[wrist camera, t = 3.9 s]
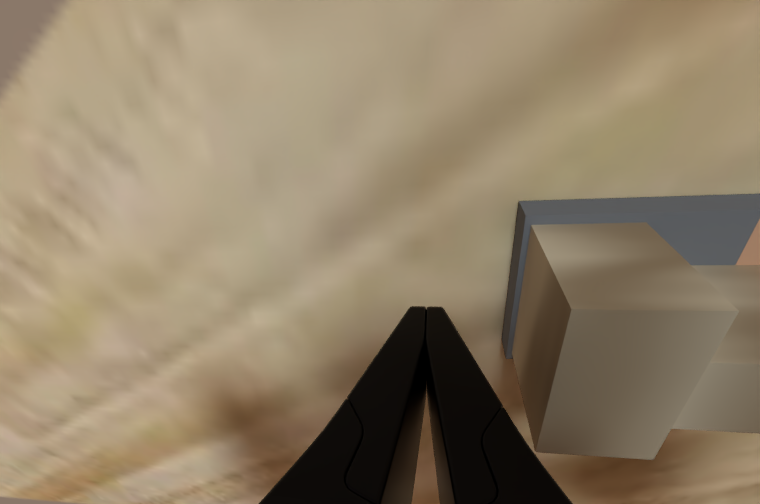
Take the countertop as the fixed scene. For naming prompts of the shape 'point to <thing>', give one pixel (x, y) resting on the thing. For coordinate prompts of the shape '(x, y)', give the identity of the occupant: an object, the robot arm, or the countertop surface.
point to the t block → (632, 341)
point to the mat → (664, 214)
